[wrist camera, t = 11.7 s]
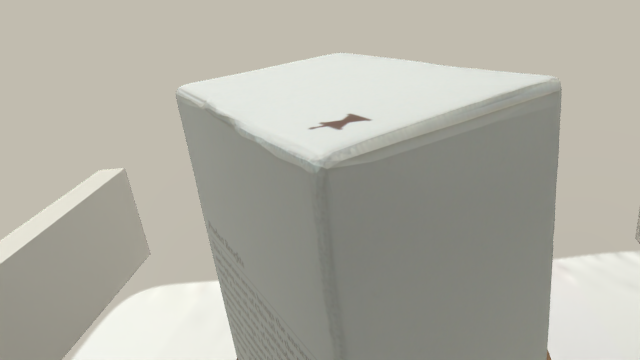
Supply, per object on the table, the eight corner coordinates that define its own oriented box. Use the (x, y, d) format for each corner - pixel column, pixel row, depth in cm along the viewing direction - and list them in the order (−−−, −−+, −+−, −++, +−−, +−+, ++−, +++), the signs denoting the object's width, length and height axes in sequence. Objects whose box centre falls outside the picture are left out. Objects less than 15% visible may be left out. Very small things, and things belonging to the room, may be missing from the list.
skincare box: (540, 597, 11) (583, 73, 7) (390, 741, 10) (306, 161, 5) (381, 417, 16) (342, 46, 12) (263, 489, 15) (162, 85, 10)
